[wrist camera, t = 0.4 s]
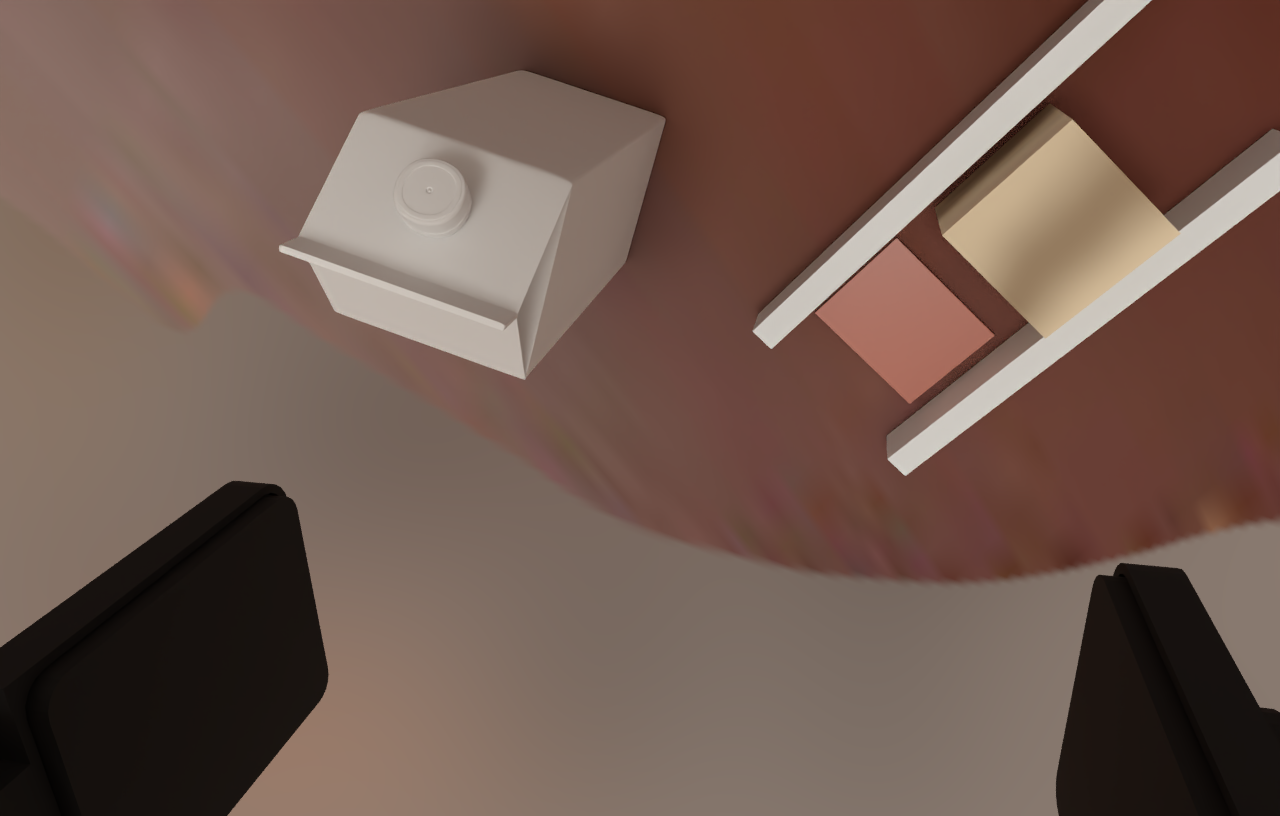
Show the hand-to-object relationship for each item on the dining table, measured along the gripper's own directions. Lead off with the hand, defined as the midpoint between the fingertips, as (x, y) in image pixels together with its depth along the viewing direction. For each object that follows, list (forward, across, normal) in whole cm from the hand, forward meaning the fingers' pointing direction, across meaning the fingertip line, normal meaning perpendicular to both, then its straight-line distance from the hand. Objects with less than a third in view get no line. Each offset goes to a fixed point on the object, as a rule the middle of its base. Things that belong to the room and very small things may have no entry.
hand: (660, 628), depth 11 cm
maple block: (+34, -9, +1) cm, 35 cm away
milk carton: (+34, +11, 0) cm, 36 cm away
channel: (+34, -8, +3) cm, 35 cm away
